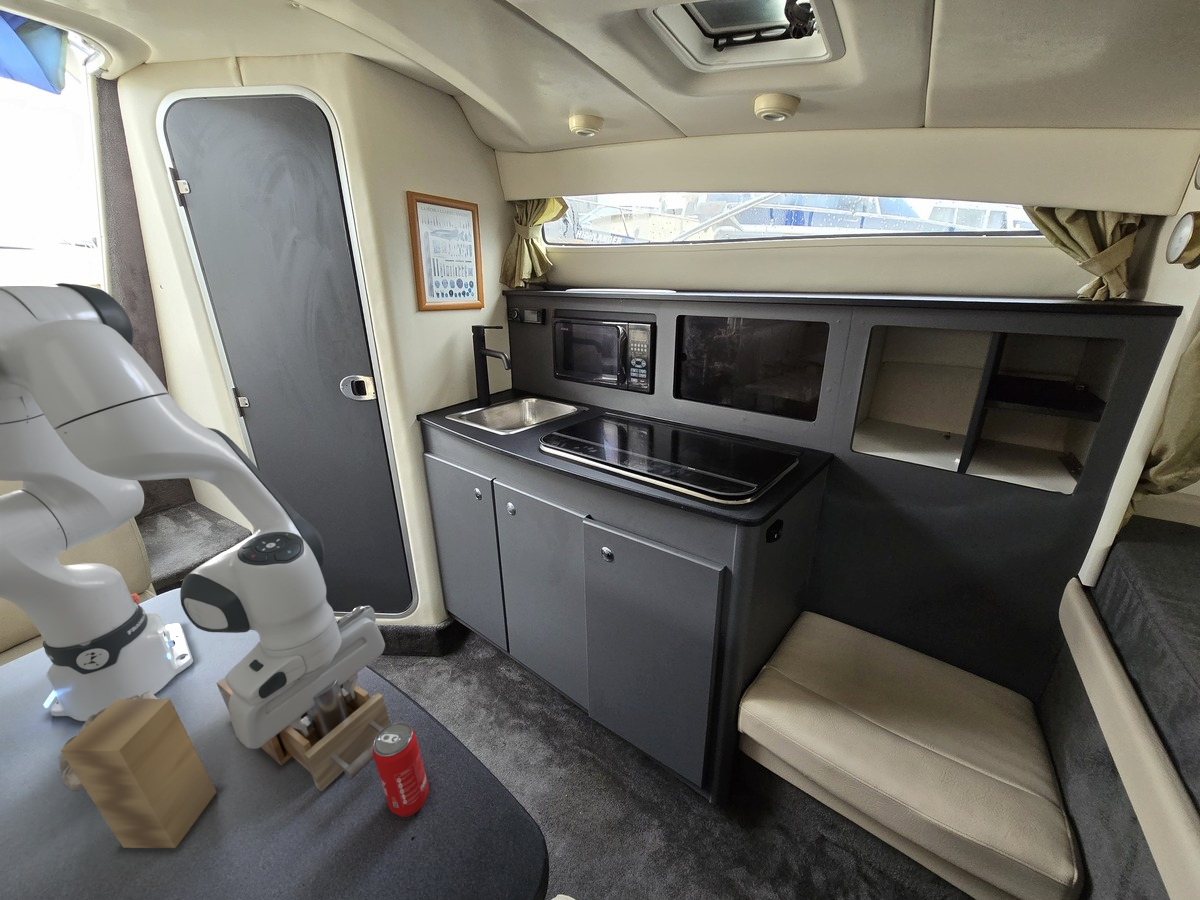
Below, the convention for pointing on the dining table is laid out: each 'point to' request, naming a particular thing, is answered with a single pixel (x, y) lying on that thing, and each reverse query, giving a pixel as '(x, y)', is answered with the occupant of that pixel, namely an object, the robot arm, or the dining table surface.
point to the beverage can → (400, 769)
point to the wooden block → (141, 772)
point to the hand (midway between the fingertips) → (328, 715)
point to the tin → (328, 710)
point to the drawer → (340, 741)
